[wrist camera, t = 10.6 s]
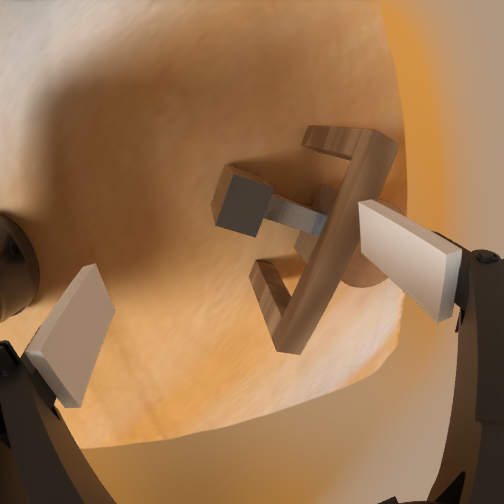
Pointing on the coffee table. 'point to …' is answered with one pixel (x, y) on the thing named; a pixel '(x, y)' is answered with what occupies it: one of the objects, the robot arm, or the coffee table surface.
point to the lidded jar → (365, 264)
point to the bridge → (325, 236)
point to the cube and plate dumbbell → (268, 208)
